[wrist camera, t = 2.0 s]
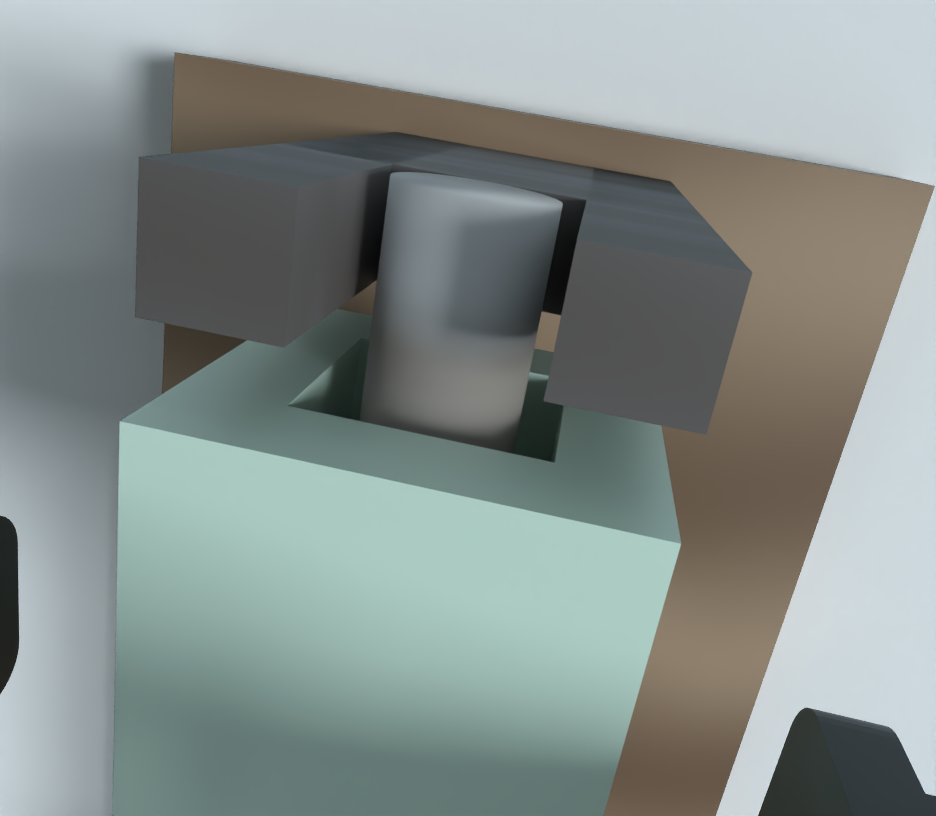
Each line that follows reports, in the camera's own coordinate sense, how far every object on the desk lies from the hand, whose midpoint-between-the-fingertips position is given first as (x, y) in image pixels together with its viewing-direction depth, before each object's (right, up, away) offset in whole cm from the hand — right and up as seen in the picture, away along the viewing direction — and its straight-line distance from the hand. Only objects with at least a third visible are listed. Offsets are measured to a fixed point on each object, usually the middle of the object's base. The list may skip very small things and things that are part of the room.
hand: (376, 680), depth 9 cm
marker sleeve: (+1, +1, +3) cm, 3 cm away
